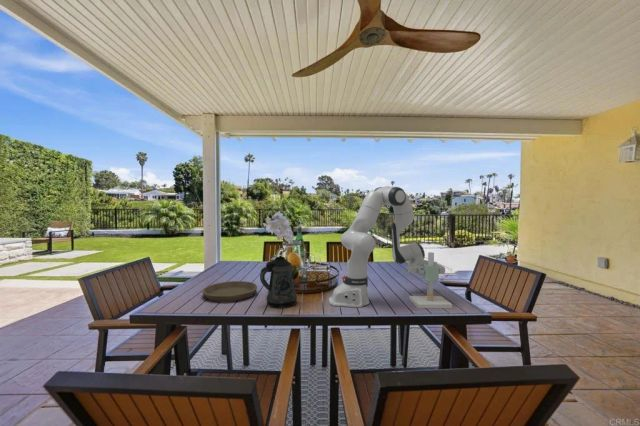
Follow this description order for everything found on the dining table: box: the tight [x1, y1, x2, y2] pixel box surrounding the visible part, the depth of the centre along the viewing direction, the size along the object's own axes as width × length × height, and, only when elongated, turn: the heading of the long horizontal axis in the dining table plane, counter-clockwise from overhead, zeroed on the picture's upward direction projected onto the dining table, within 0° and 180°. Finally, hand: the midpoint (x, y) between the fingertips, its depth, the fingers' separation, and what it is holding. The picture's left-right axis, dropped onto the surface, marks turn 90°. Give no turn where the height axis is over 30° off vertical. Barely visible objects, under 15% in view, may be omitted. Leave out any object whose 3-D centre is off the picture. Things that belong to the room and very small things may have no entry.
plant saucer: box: [201, 280, 258, 303], centre depth 176 cm, size 31×31×5 cm
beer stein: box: [259, 256, 298, 309], centre depth 161 cm, size 16×19×25 cm
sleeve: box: [422, 264, 440, 282], centre depth 162 cm, size 6×6×8 cm
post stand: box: [409, 251, 453, 309], centre depth 163 cm, size 18×14×28 cm
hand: (431, 272), depth 162 cm, fingers closed on sleeve, 6 cm apart
